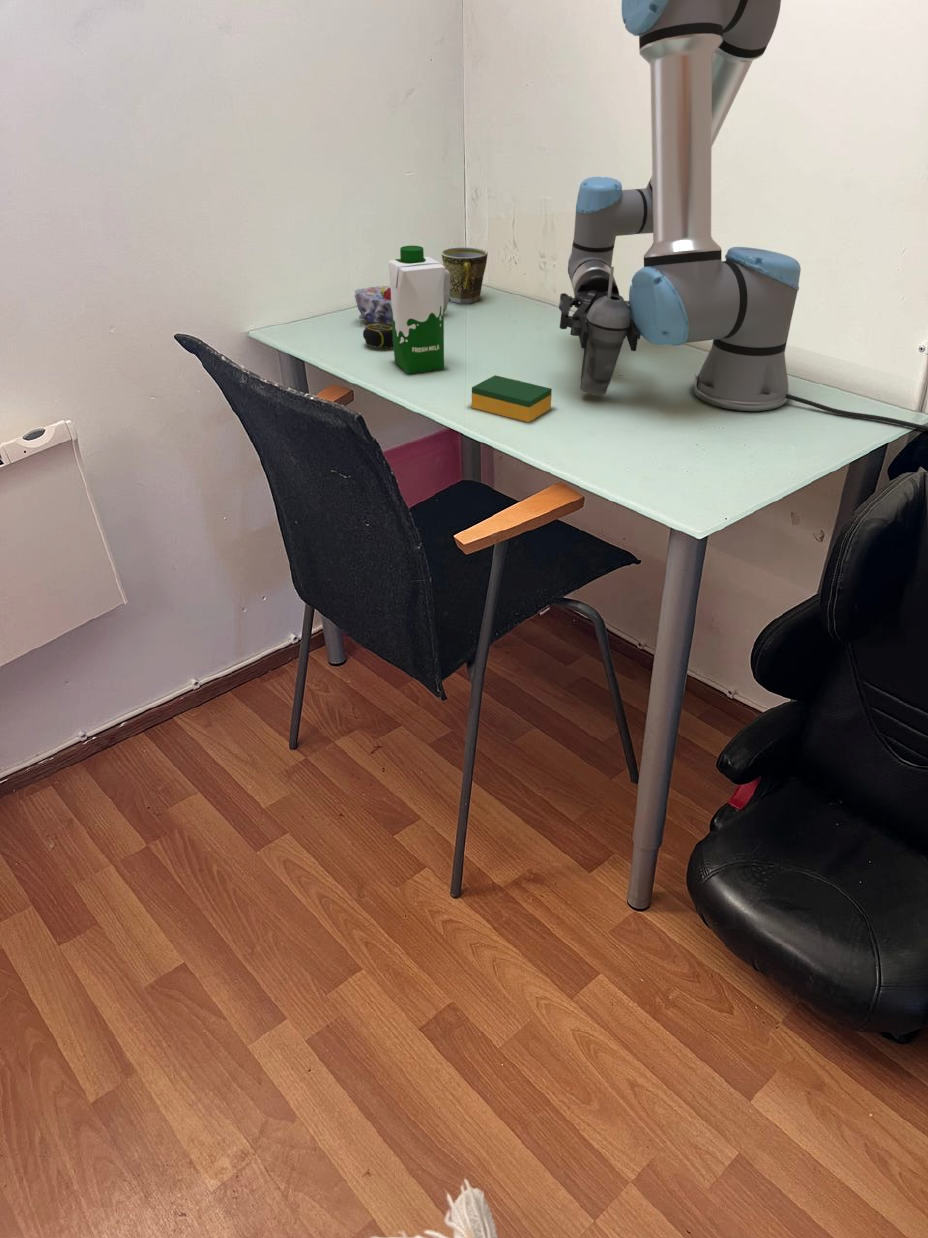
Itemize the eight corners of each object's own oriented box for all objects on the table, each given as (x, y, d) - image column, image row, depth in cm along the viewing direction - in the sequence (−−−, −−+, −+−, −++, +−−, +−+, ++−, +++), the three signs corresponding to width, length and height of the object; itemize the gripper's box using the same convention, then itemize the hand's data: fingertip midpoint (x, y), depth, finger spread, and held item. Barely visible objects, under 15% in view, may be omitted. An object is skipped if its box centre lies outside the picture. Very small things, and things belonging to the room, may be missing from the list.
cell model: (457, 261, 187) (389, 283, 175) (458, 314, 193) (392, 338, 181) (411, 250, 194) (342, 271, 182) (413, 302, 200) (347, 325, 188)
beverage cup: (613, 402, 150) (642, 279, 138) (569, 393, 151) (595, 270, 138) (615, 384, 156) (643, 265, 144) (573, 377, 156) (598, 257, 144)
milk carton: (432, 355, 172) (430, 242, 161) (451, 370, 165) (450, 254, 154) (388, 361, 169) (383, 247, 158) (405, 377, 162) (401, 258, 151)
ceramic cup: (440, 293, 207) (439, 247, 201) (483, 292, 208) (484, 246, 202) (445, 310, 196) (445, 261, 191) (491, 309, 197) (492, 260, 192)
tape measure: (406, 343, 178) (405, 323, 176) (388, 353, 173) (387, 333, 171) (376, 338, 180) (375, 319, 178) (357, 348, 175) (356, 328, 173)
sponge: (550, 409, 150) (552, 388, 148) (528, 422, 145) (529, 401, 143) (494, 394, 155) (495, 374, 153) (471, 407, 150) (471, 387, 148)
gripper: (648, 313, 164) (669, 367, 146) (536, 308, 164) (543, 361, 146) (655, 271, 159) (678, 321, 141) (540, 265, 159) (548, 314, 141)
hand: (609, 341), depth 144 cm, fingers closed on beverage cup, 7 cm apart
